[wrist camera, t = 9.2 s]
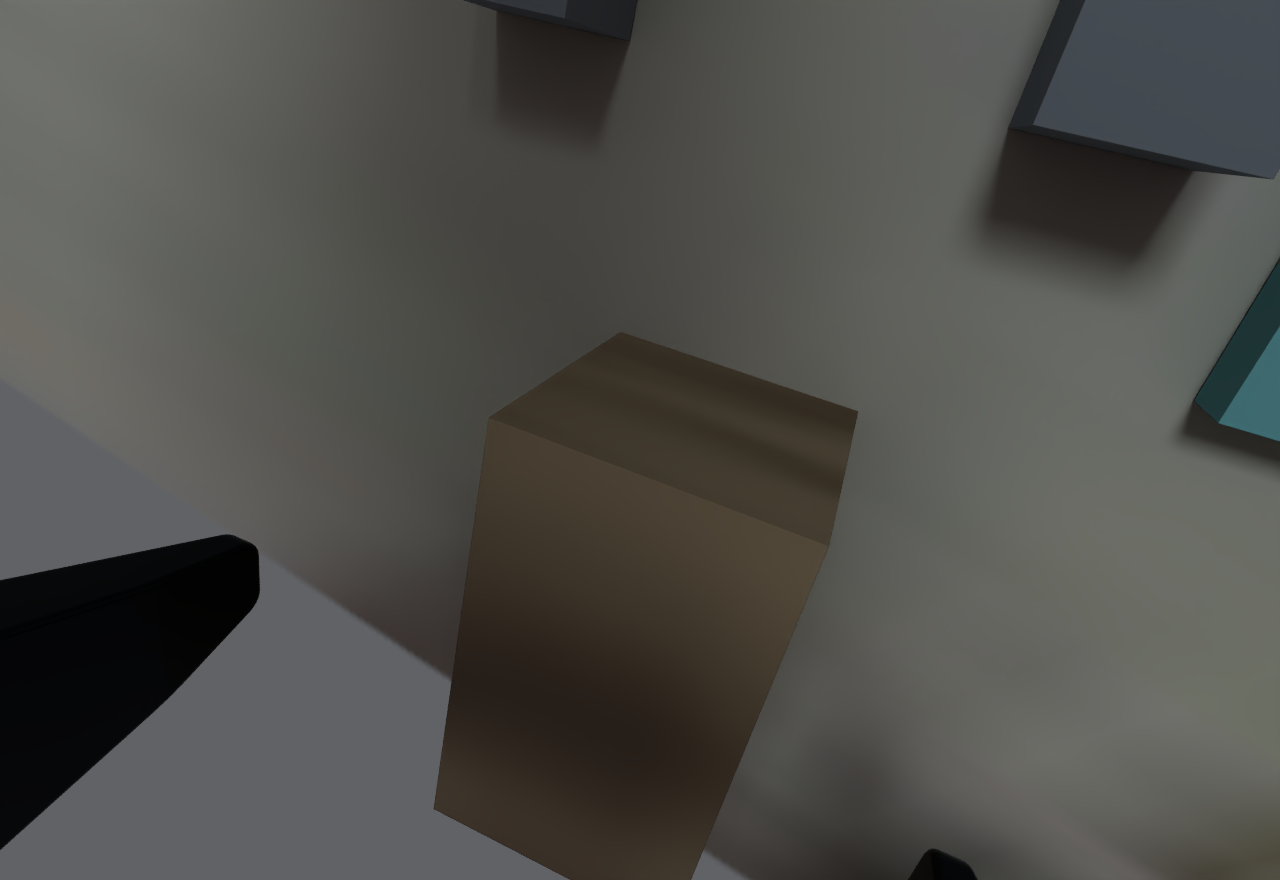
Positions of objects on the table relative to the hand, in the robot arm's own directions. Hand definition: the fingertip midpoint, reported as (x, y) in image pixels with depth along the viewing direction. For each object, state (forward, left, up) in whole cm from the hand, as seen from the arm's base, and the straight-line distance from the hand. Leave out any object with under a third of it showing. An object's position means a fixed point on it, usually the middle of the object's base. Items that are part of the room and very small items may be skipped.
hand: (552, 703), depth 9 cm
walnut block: (+1, 0, -6) cm, 7 cm away
